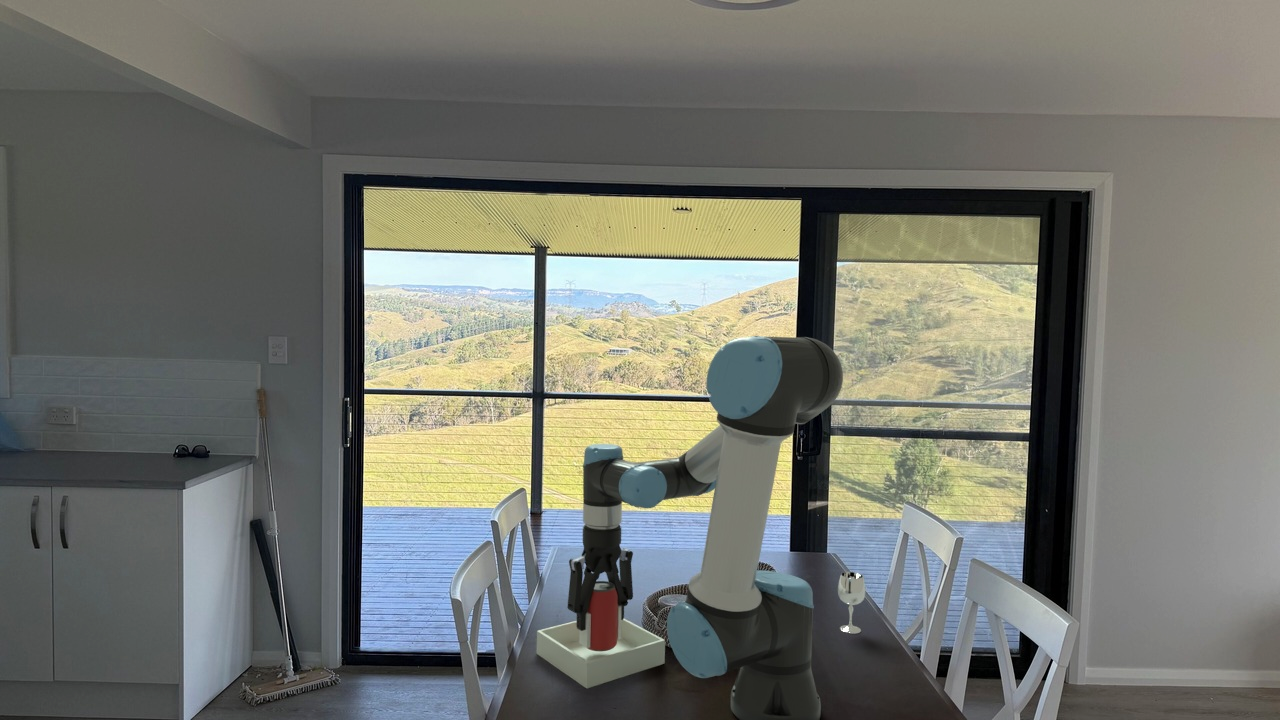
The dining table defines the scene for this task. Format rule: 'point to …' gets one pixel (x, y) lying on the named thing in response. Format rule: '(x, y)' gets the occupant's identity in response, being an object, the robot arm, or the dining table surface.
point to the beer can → (603, 616)
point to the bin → (600, 653)
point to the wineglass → (851, 595)
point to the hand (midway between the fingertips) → (600, 640)
